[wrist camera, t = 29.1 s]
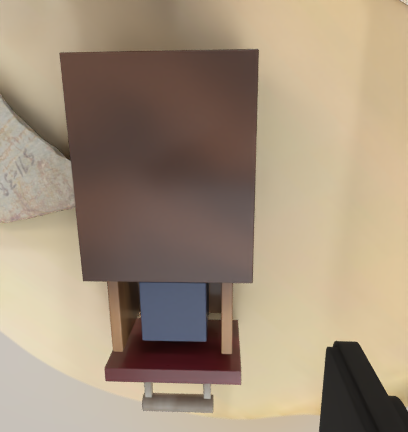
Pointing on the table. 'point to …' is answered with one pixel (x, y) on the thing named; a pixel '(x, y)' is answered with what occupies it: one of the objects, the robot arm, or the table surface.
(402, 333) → the table surface
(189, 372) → the drawer
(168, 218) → the cabinet
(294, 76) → the table surface
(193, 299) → the block
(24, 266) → the table surface
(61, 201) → the stone
